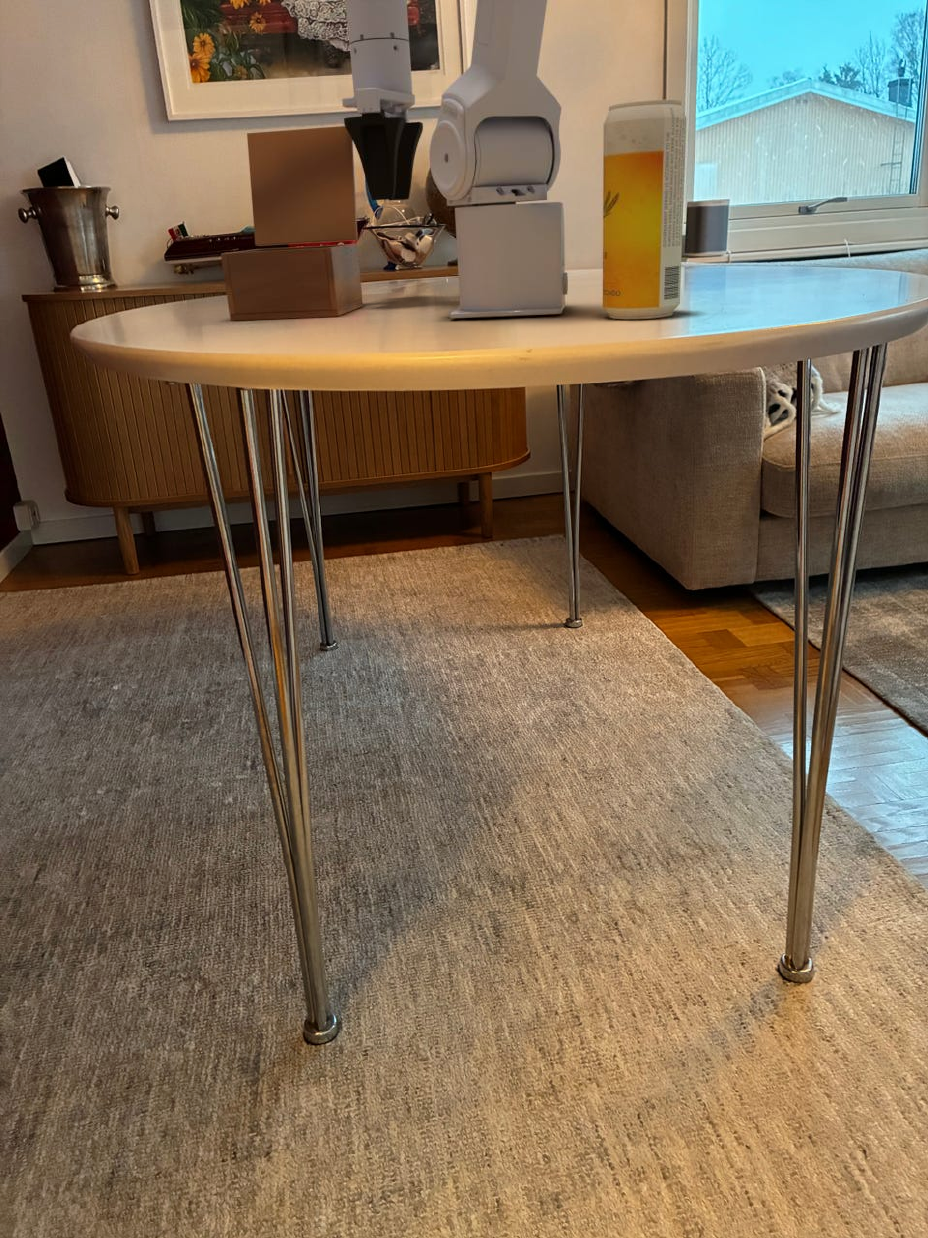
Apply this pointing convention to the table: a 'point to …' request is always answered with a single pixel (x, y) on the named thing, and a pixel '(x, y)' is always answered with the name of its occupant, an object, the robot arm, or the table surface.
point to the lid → (302, 186)
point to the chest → (292, 282)
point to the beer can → (643, 208)
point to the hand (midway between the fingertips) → (391, 199)
